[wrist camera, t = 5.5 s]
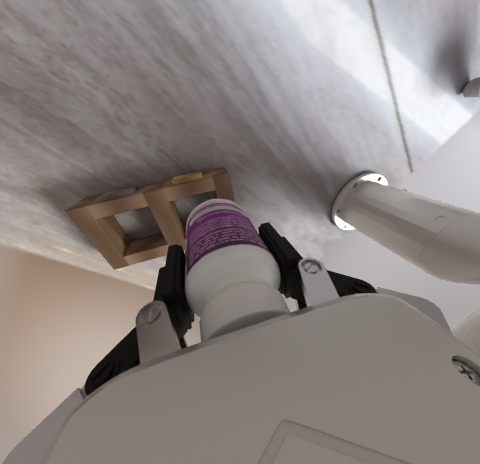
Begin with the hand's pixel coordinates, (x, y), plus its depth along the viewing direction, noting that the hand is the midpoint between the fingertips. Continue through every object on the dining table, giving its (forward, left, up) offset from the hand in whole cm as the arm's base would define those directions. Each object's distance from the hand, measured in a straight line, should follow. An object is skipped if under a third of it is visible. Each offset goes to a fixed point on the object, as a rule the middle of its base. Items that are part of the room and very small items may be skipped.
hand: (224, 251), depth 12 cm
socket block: (+7, +3, -17) cm, 19 cm away
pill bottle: (0, 0, -4) cm, 4 cm away
